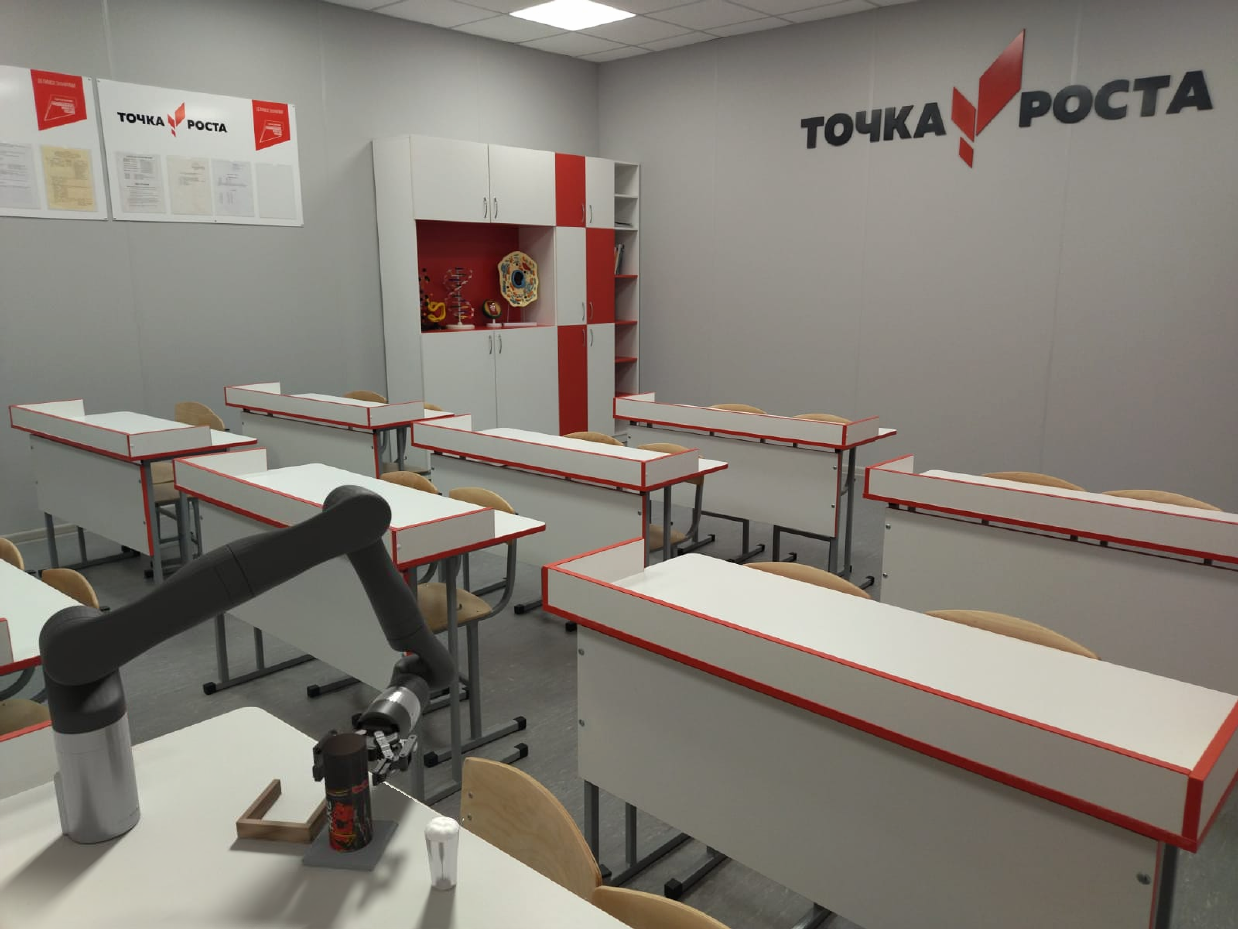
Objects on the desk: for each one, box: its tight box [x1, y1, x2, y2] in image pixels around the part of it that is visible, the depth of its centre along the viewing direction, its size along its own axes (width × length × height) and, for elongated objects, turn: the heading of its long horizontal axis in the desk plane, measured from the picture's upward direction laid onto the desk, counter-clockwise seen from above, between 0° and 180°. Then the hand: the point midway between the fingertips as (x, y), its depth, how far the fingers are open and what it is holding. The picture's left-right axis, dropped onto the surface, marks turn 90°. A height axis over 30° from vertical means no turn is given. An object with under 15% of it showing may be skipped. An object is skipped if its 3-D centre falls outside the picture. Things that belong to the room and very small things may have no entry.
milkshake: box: [423, 816, 465, 891], centre depth 117 cm, size 5×5×10 cm
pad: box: [301, 818, 399, 872], centre depth 125 cm, size 10×10×1 cm
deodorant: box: [322, 732, 373, 853], centre depth 124 cm, size 6×6×15 cm
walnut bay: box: [235, 778, 328, 845], centre depth 131 cm, size 11×11×2 cm
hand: (345, 778), depth 123 cm, fingers open, 8 cm apart
